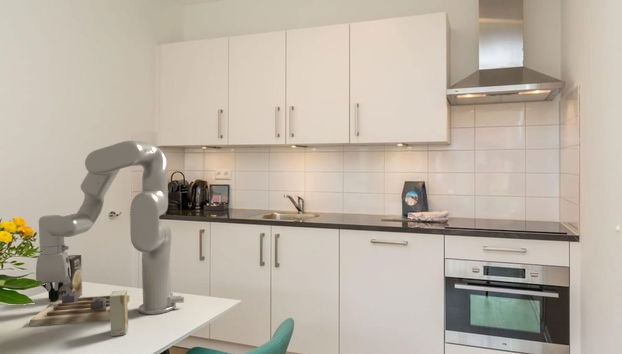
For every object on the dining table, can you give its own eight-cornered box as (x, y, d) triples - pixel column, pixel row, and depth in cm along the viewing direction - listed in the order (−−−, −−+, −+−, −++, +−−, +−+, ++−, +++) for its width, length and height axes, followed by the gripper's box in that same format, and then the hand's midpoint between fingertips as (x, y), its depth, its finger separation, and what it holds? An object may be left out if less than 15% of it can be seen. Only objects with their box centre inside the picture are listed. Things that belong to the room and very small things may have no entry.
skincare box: (126, 335, 130) (124, 295, 130) (110, 337, 129) (109, 296, 128) (128, 327, 136) (127, 289, 136) (113, 329, 135) (112, 290, 135)
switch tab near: (106, 306, 150) (105, 296, 150) (103, 309, 147) (102, 299, 146) (93, 307, 149) (93, 296, 149) (90, 310, 146) (90, 300, 146)
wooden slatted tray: (129, 300, 163) (129, 292, 163) (115, 319, 143) (115, 310, 143) (54, 306, 158) (54, 298, 158) (30, 326, 139) (29, 317, 138)
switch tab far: (77, 300, 157) (77, 291, 157) (74, 304, 153) (74, 294, 153) (66, 301, 156) (65, 291, 156) (62, 304, 152) (61, 294, 152)
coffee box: (72, 301, 163) (71, 259, 163) (55, 302, 163) (53, 260, 162) (82, 294, 172) (81, 254, 172) (66, 295, 172) (64, 255, 171)
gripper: (78, 246, 158) (80, 296, 159) (33, 249, 155) (35, 299, 156) (71, 250, 151) (73, 302, 151) (24, 253, 148) (26, 306, 148)
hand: (54, 300), depth 154 cm, fingers closed
